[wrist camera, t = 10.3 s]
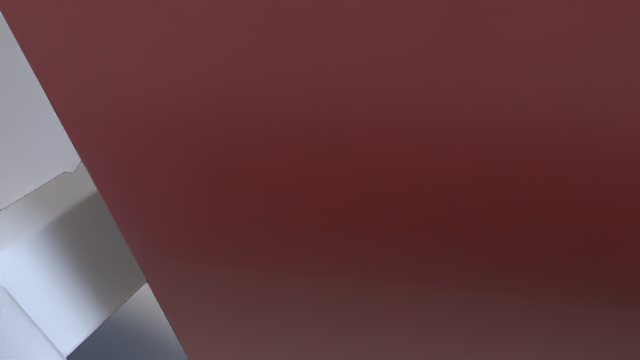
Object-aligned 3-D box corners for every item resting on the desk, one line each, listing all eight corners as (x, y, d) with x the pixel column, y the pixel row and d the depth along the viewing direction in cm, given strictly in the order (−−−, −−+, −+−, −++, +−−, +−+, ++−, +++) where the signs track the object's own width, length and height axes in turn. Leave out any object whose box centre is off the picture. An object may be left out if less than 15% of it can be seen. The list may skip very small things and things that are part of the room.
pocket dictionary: (878, -393, 5) (1423, -290, 2) (584, 301, 12) (614, 523, 9) (159, -322, 6) (-115, -196, 3) (291, 271, 13) (242, 462, 10)
